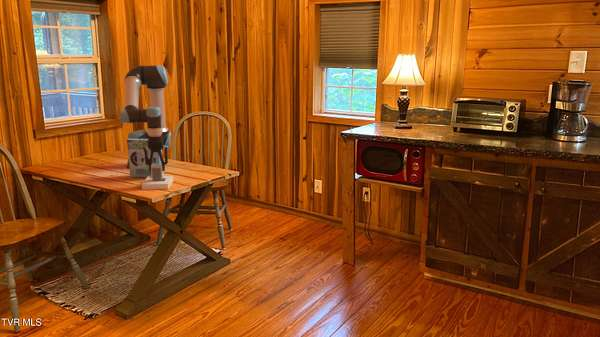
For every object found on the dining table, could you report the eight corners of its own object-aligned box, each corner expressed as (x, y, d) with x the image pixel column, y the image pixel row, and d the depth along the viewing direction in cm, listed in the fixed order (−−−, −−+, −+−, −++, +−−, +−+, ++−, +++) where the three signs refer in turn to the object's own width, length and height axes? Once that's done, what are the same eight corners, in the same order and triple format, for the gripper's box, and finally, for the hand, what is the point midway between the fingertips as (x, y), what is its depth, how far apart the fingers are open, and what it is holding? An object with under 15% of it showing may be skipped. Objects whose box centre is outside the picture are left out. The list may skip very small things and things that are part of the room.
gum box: (163, 176, 293) (161, 138, 288) (160, 178, 288) (157, 140, 283) (133, 175, 296) (130, 137, 291) (129, 177, 291) (126, 139, 286)
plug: (154, 181, 276) (153, 164, 274) (162, 181, 276) (161, 164, 274) (152, 183, 271) (151, 166, 269) (161, 183, 272) (160, 166, 270)
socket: (148, 181, 283) (148, 174, 282) (173, 180, 284) (172, 174, 283) (141, 189, 265) (141, 183, 264) (168, 189, 267) (167, 182, 266)
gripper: (136, 136, 264) (140, 178, 269) (170, 136, 265) (172, 177, 271) (139, 134, 271) (142, 175, 276) (172, 134, 273) (174, 174, 278)
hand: (157, 176), depth 273 cm, fingers closed on plug, 4 cm apart
